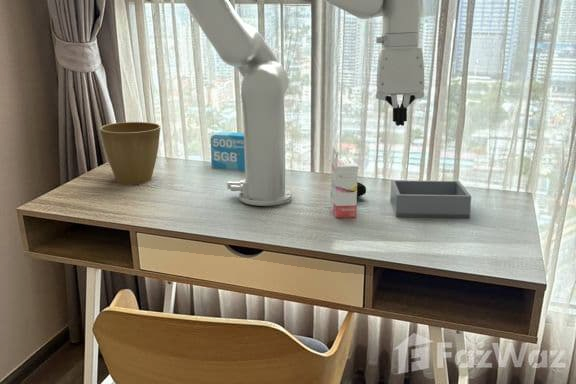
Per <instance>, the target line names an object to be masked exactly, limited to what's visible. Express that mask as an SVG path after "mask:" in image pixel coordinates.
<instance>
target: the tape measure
mask: <svg viewBox="0 0 576 384" xmlns="http://www.w3.org/2000/svg"><path fill="white" fill-rule="evenodd" d="M366 193H367V188H366V186H365V185H364V184H363V183H360V182H359V181H357V198H359V197H362V196H364V195H366Z"/></svg>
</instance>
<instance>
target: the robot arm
mask: <svg viewBox="0 0 576 384" xmlns="http://www.w3.org/2000/svg"><path fill="white" fill-rule="evenodd" d="M183 2H184V3H185V5H186V7H187V9H188V11H189V12H190V14H191V15H192V17H193V18H194V20H195V21H196V22H197V24H198V26H199V27H200V29H201V30H202V32H203V33H204V35H205V36H206V38H207V39H208V41H209V42H210V44H211V45H212V47H213V48H214V50H215V51H216V53H217V54H218V56H219V58H220V59H221V61H223V62H224V63H225V64H226V65H228V66H230V67H235V68H236V69H237V71H238V72H239V73H240V75H241V76H242V78H243V79H242V81H241V88H240V92H241V93H240V97H241V107H242V121H243V133H244V148H245V171H244V177H245V178H244V179H243V180H242V179H241V180H240V181H234V180H233V181H232V180H231V181H230V180H228V181H227V183H226V188H227V190H230V191H231V192H237V191H239V192H240V193H239V194H238V195H239V196H238V199H239V201H240V202H242V203H244V204H246V205H251V206H259V207H261V206H263V207H264V206H265V207H267V206H268V207H269V206H278V205H283V204H285V203H288V202H290V201H291V200H292V195H293V194H292V192H291V191H290V190H288V189H286V133H285V132H286V129H285V126H286V123H285V94H286V93H287V90H288V87H289V77H288V74H287V70H285V68H284V66H283V65H282V63H281V61H280V60H279V58H277V56H276V54H275V53H274V52H273V50H272V49H271V47H270V46H269V45H268V43H267V41H266V39H265V38H264V36H263V35H262V34H261V33H260V32H259V31H258V30H257V28H255V27H254V26H252V25H250V24H248V23H245V22H244V21H243V20H242V19H241V17H240V16H239V14H238V13H237V12H236V10H235V9H234V7H233V5H232V3H231V2H230V1H229V0H183ZM323 2H326V3H328V4H331V5H333V6H335V7H336V8H338V9H340V10H343V11H344V12H346V13H348V14H350V15H352V16H354V17H356V18H358V19H361V20H369V19H373V18H377V17H382V35H381V36H376V38H375V39H376V43H375V44H380V45H382V47H381V48H379V53H378V60H377V69H376V70H377V71H376V93H375V99H376V100H379V101H384V102H385V101H386V102H387V103H388V104H389V105H390V106H391V107H392V122H393V123H395V125H396V126H397V127H399V126H402V127H403V126H404V127H405V122H407V121H408V107H410V105H411V104H412V103H413V102H414V101H416V100H419V99H423V98H424V97H425V65H424V64H425V61H424V54H423V48H422V47H420V46H419V4H420V3H419V0H323ZM397 95H402V98H401V99H402V100H401V103H400V105H399V104H398V96H397Z"/></svg>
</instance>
